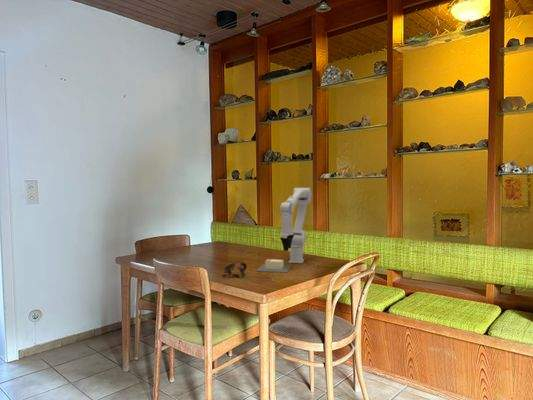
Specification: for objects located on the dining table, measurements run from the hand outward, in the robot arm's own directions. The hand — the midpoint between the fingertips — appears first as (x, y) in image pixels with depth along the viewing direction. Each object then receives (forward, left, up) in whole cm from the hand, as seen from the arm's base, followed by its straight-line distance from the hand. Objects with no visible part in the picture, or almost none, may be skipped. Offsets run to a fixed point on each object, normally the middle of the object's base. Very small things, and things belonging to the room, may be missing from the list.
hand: (287, 249), depth 218 cm
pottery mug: (+24, -21, -10) cm, 34 cm away
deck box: (+6, -6, -9) cm, 12 cm away
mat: (+6, -6, -9) cm, 13 cm away
